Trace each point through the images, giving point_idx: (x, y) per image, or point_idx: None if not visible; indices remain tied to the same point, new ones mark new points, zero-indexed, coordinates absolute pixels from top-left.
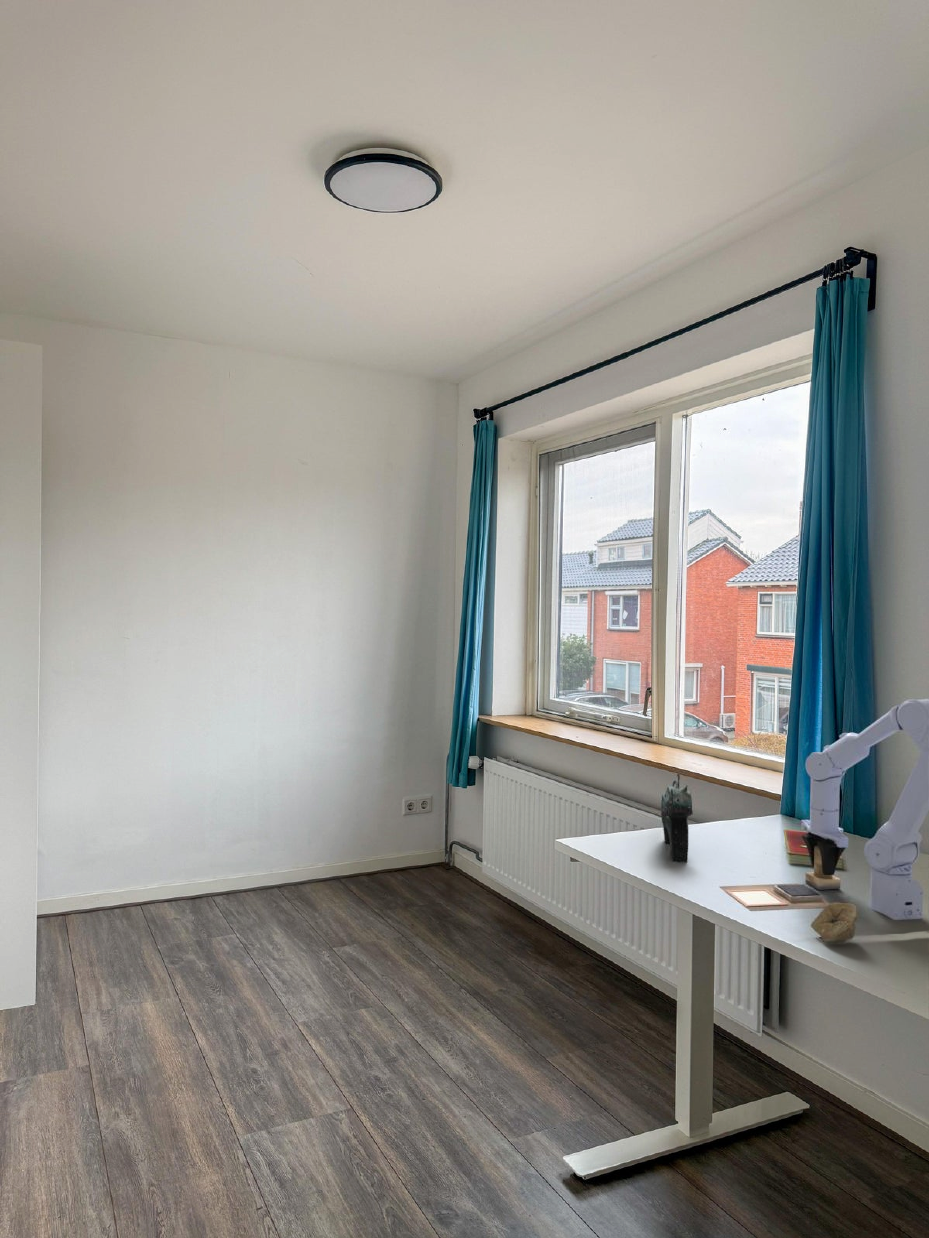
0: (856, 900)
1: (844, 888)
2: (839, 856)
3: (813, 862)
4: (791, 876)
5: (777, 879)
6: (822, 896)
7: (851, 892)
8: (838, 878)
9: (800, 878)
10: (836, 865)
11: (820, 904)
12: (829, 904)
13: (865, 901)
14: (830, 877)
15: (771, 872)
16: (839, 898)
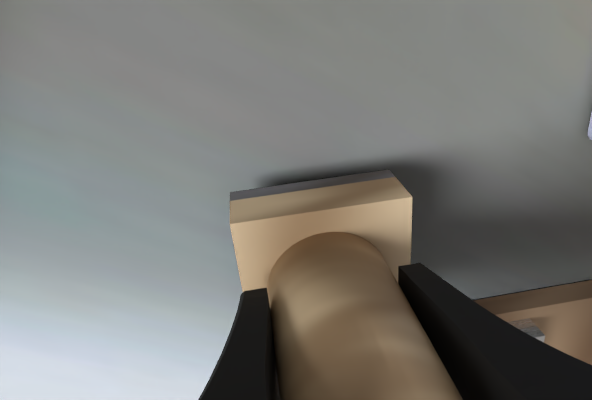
0: (488, 104)
1: (271, 75)
2: (562, 358)
3: (278, 386)
4: (59, 312)
5: (134, 386)
6: (543, 337)
7: (352, 64)
8: (394, 204)
9: (90, 276)
10: (472, 300)
11: (564, 341)
12: (576, 306)
13: (515, 54)
14: (383, 258)
15: (4, 387)
16: (440, 189)
